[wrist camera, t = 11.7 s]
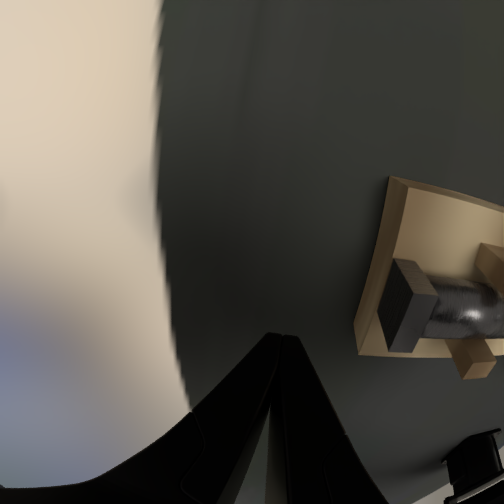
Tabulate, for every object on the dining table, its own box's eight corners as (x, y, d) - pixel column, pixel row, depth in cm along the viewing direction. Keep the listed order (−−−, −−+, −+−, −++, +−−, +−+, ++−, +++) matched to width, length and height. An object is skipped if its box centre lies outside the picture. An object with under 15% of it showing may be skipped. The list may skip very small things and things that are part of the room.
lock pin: (510, 276, 9) (536, 304, 7) (491, 319, 10) (511, 350, 8) (393, 258, 10) (413, 292, 8) (376, 311, 11) (388, 351, 9)
